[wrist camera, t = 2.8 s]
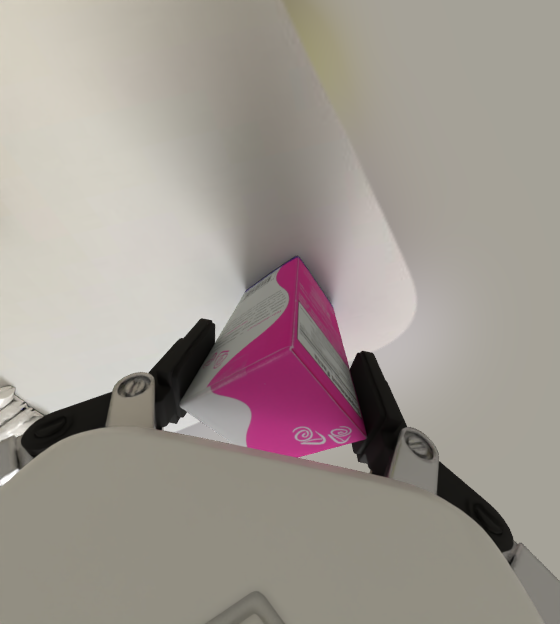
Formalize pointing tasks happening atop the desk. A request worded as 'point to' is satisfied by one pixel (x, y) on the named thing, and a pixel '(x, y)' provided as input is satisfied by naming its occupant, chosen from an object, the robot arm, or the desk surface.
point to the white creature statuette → (14, 414)
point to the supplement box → (279, 371)
